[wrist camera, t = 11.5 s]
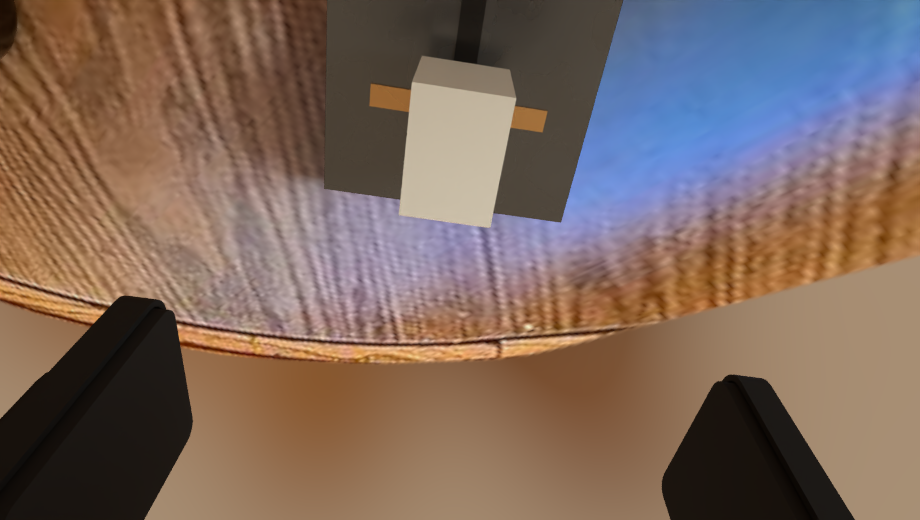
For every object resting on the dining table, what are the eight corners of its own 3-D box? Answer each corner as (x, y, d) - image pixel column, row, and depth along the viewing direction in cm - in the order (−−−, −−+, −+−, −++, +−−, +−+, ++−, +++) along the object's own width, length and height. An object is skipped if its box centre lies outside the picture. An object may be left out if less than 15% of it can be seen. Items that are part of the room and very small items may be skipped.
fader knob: (425, 47, 23) (411, 81, 18) (507, 60, 23) (516, 98, 18) (413, 159, 25) (398, 215, 21) (487, 170, 26) (490, 227, 21)
